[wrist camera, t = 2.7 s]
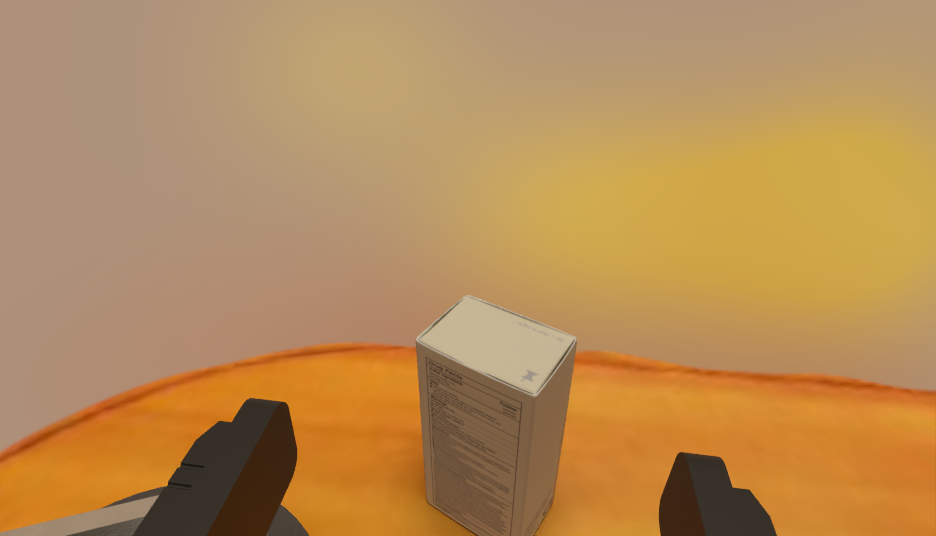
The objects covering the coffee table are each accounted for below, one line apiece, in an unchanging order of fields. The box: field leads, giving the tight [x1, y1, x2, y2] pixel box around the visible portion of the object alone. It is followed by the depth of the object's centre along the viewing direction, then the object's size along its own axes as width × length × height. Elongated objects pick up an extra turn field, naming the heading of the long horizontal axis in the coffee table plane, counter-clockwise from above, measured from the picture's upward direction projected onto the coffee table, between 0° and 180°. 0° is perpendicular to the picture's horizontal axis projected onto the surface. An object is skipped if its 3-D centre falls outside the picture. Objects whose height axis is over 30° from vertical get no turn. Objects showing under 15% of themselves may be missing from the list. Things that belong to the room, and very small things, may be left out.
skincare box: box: [416, 295, 577, 536], centre depth 28 cm, size 6×4×12 cm
